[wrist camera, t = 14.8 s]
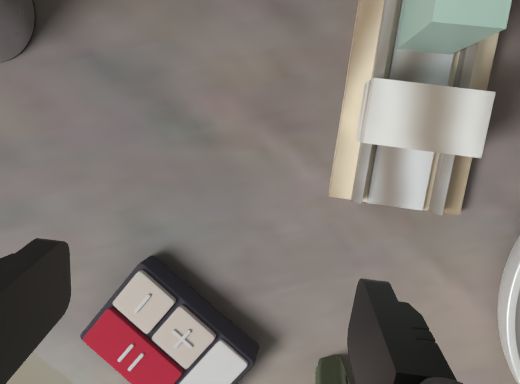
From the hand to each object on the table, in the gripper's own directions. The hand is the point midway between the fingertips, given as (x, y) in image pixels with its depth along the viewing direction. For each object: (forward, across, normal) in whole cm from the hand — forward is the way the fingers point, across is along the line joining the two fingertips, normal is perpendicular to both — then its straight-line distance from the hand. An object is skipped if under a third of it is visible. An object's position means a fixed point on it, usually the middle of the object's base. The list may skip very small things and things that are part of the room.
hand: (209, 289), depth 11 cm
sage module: (+29, -13, -10) cm, 33 cm away
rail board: (+30, -13, -10) cm, 35 cm away
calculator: (+28, +7, +23) cm, 37 cm away
